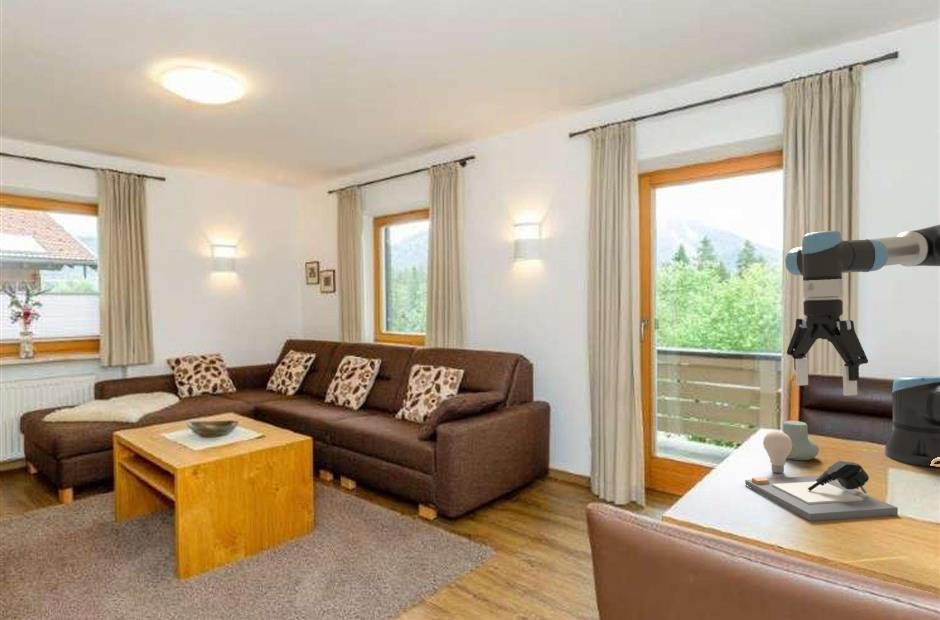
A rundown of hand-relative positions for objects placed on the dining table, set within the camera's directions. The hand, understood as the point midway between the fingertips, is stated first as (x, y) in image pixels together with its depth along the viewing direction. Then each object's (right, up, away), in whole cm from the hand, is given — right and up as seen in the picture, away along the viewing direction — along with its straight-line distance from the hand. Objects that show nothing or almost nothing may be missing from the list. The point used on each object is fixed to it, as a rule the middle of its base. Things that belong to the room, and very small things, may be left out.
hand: (824, 389), depth 120 cm
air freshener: (+9, -23, +25) cm, 36 cm away
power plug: (-5, -24, -5) cm, 25 cm away
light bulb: (-3, -24, +13) cm, 27 cm away
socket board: (-5, -24, -5) cm, 25 cm away
